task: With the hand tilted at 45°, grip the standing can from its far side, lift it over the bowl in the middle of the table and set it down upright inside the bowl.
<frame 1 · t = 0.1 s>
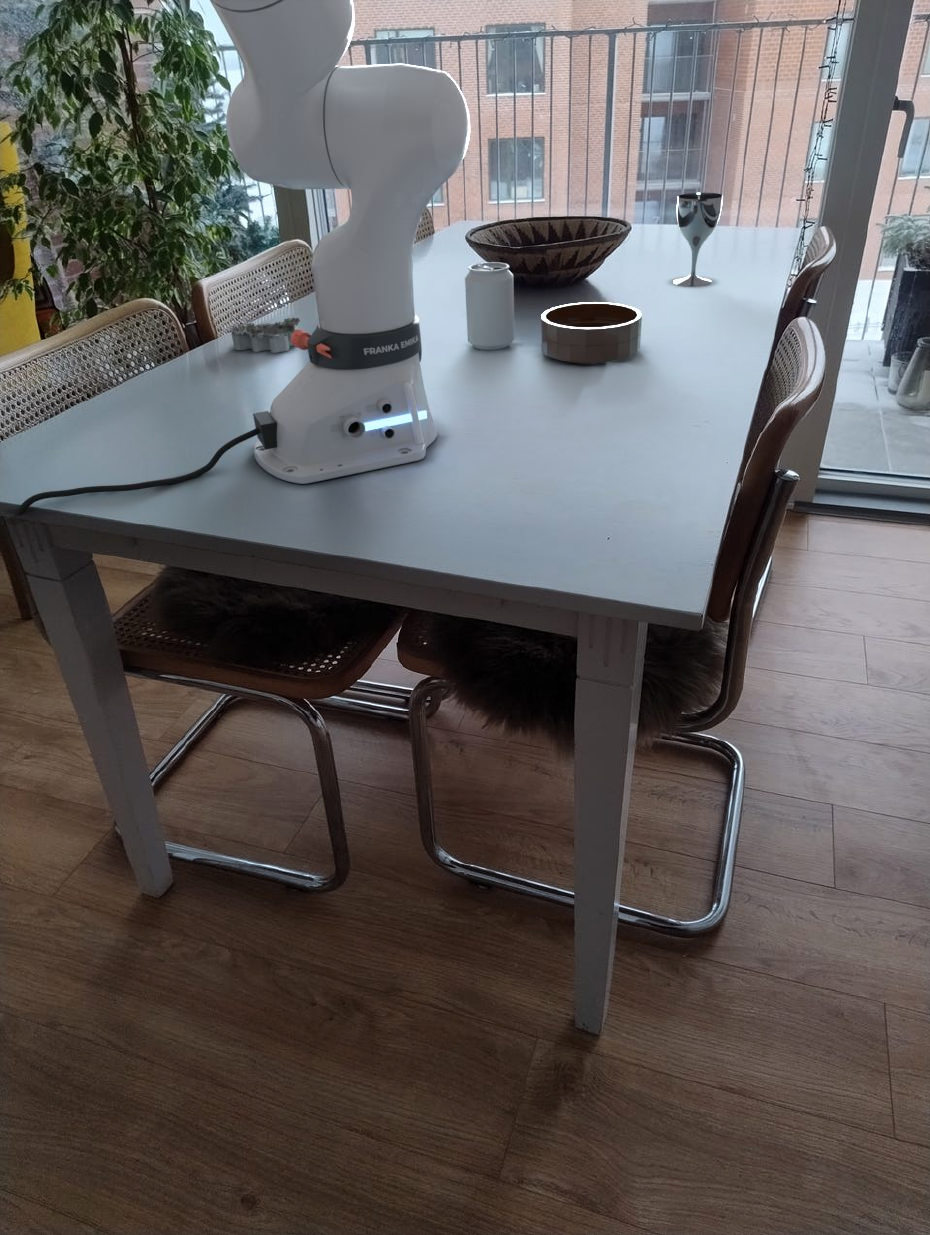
silver goblet: (692, 283, 166), on the table
can: (491, 345, 139), on the table
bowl: (590, 351, 133), on the table
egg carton: (266, 347, 144), on the table
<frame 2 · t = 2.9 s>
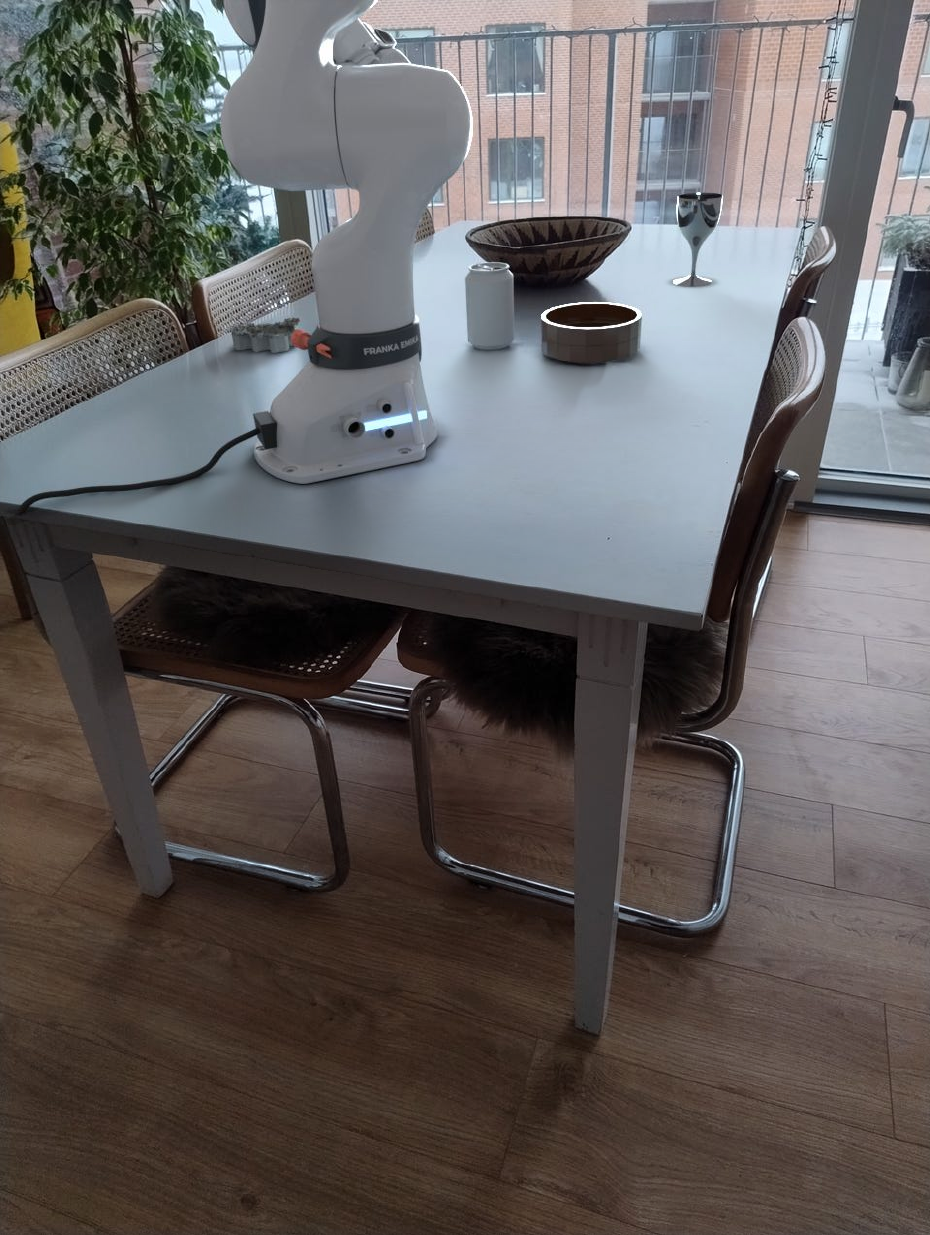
hand: (411, 137, 127), 29 cm above the table, tool tilted 40°, fingers open, 8 cm apart
nothing on the table moved.
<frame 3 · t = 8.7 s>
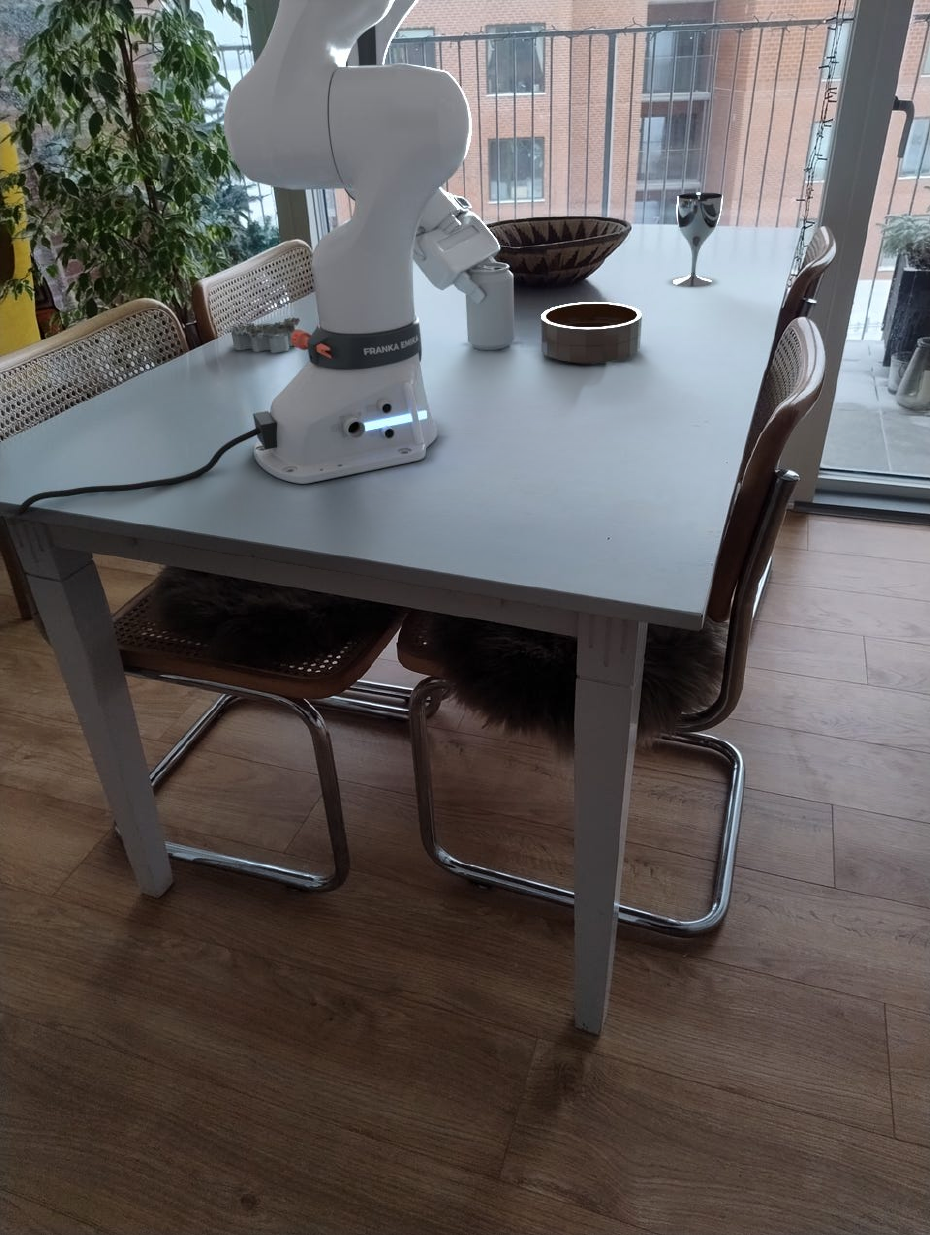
hand: (493, 292, 134), 8 cm above the table, tool tilted 45°, fingers closed on can, 7 cm apart
can: (491, 345, 139), on the table, touching gripper
everything else where it was.
when the fingers open (8 cm above the table, at t = 17.9 s): can stays where it is, resting on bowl.
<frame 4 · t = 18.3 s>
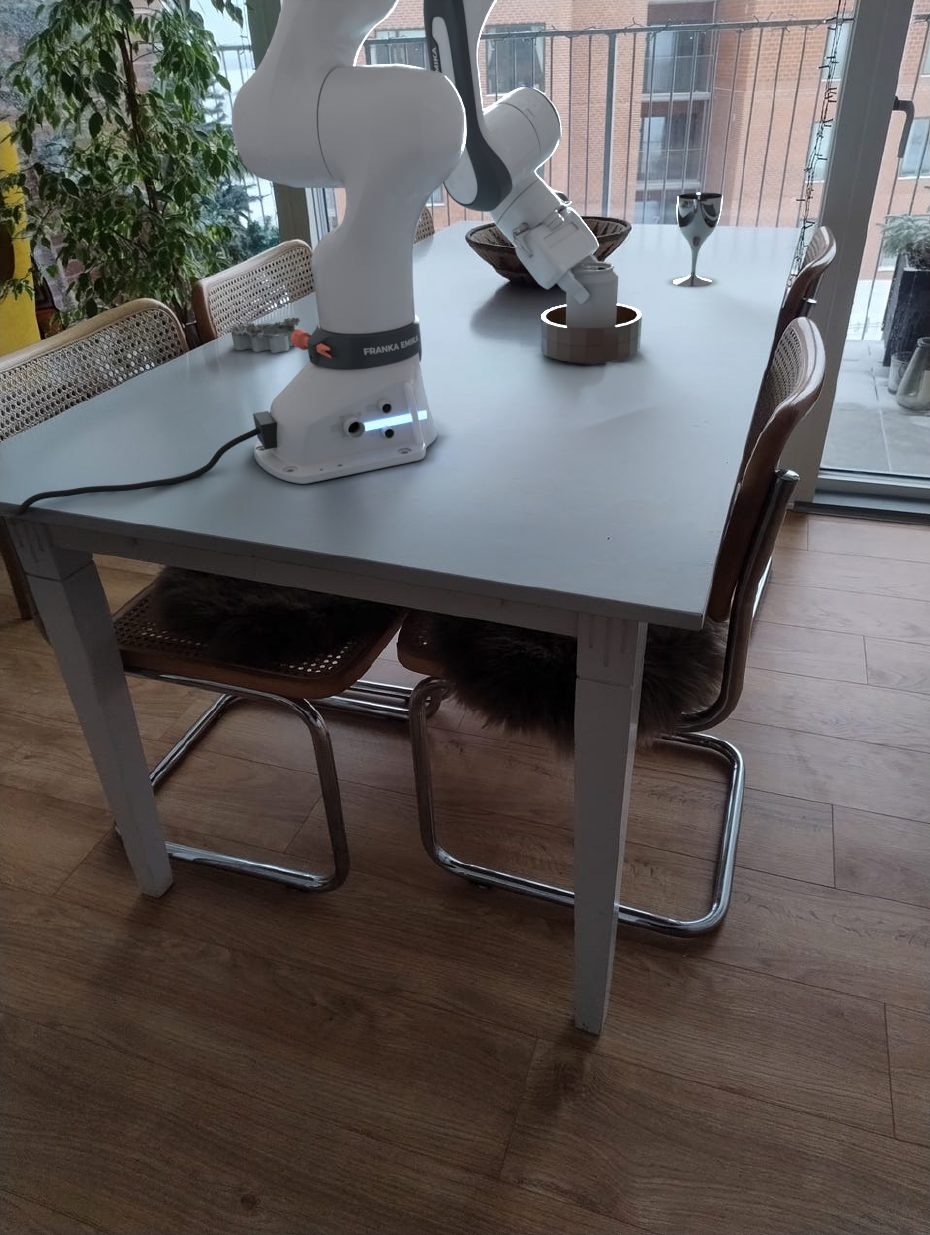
hand: (595, 292, 128), 9 cm above the table, tool tilted 45°, fingers open, 8 cm apart
can: (590, 349, 133), resting on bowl
everything else where it was.
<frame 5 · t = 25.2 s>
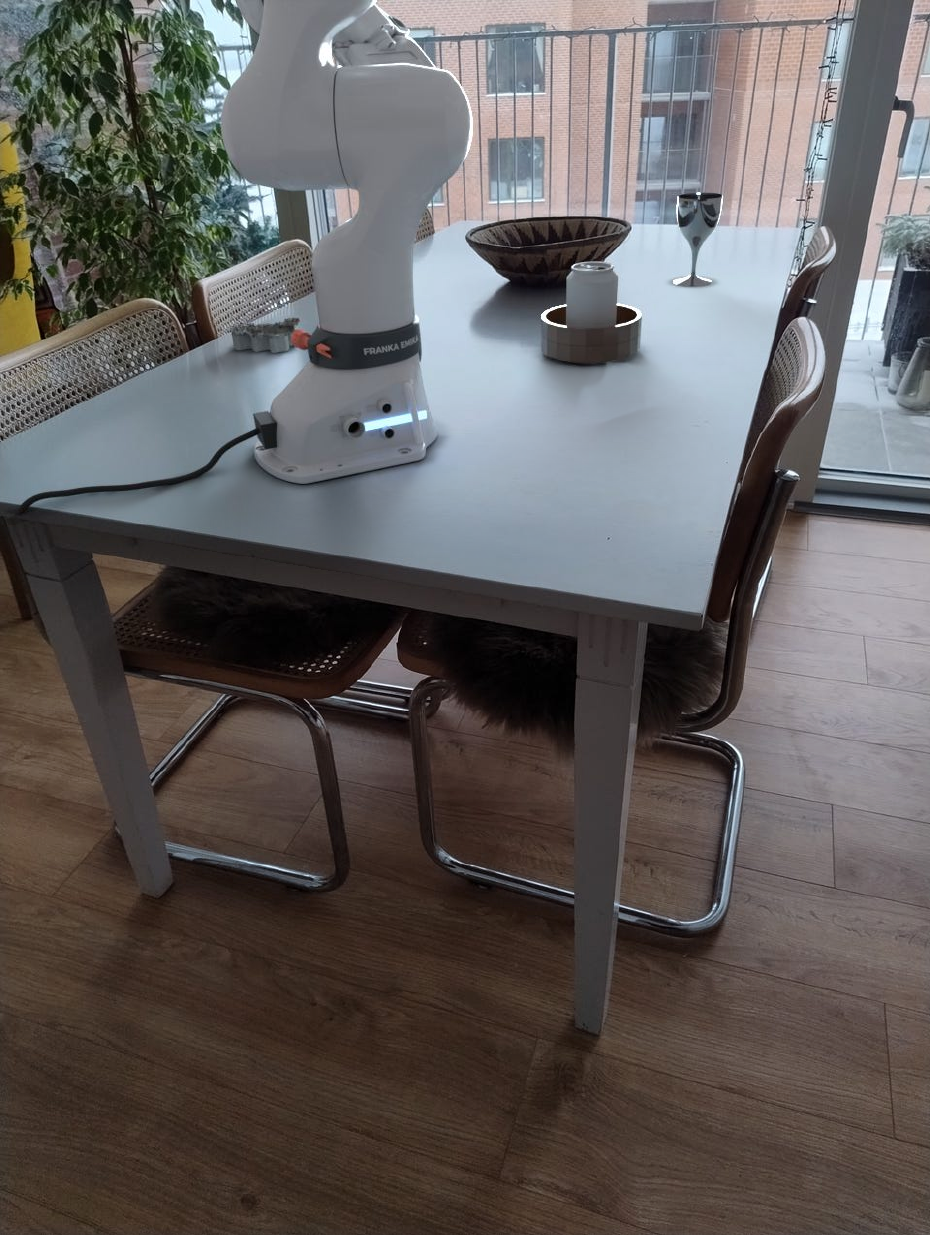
hand: (431, 120, 124), 31 cm above the table, tool tilted 45°, fingers open, 8 cm apart
nothing on the table moved.
at the end: can inside the target area in the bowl (0.0 cm from its centre), point 0.4 cm above the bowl's base; can tilted 0°; the gripper is holding nothing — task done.
